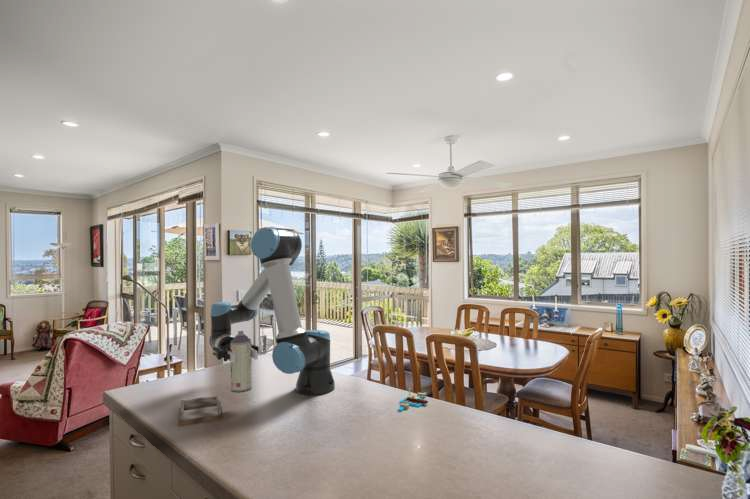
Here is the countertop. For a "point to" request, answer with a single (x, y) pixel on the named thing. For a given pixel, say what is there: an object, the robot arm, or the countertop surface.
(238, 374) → the aerosol can
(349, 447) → the countertop surface
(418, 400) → the toy boat
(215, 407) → the shallow tray
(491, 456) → the countertop surface
